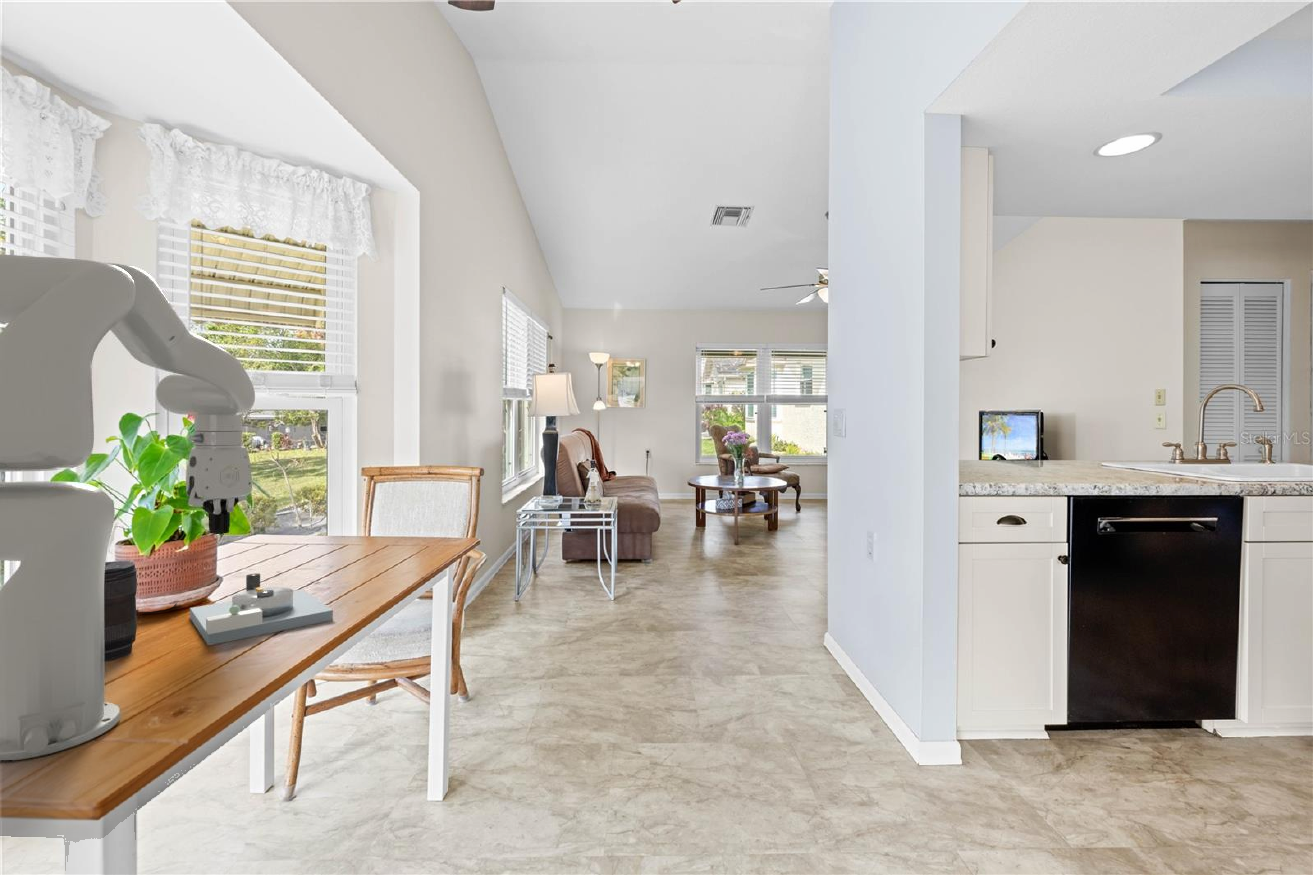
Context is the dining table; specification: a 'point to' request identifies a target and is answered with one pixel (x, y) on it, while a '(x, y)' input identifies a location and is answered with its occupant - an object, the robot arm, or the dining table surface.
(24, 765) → the dining table surface
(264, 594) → the dial
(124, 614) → the camera lens
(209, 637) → the level board
